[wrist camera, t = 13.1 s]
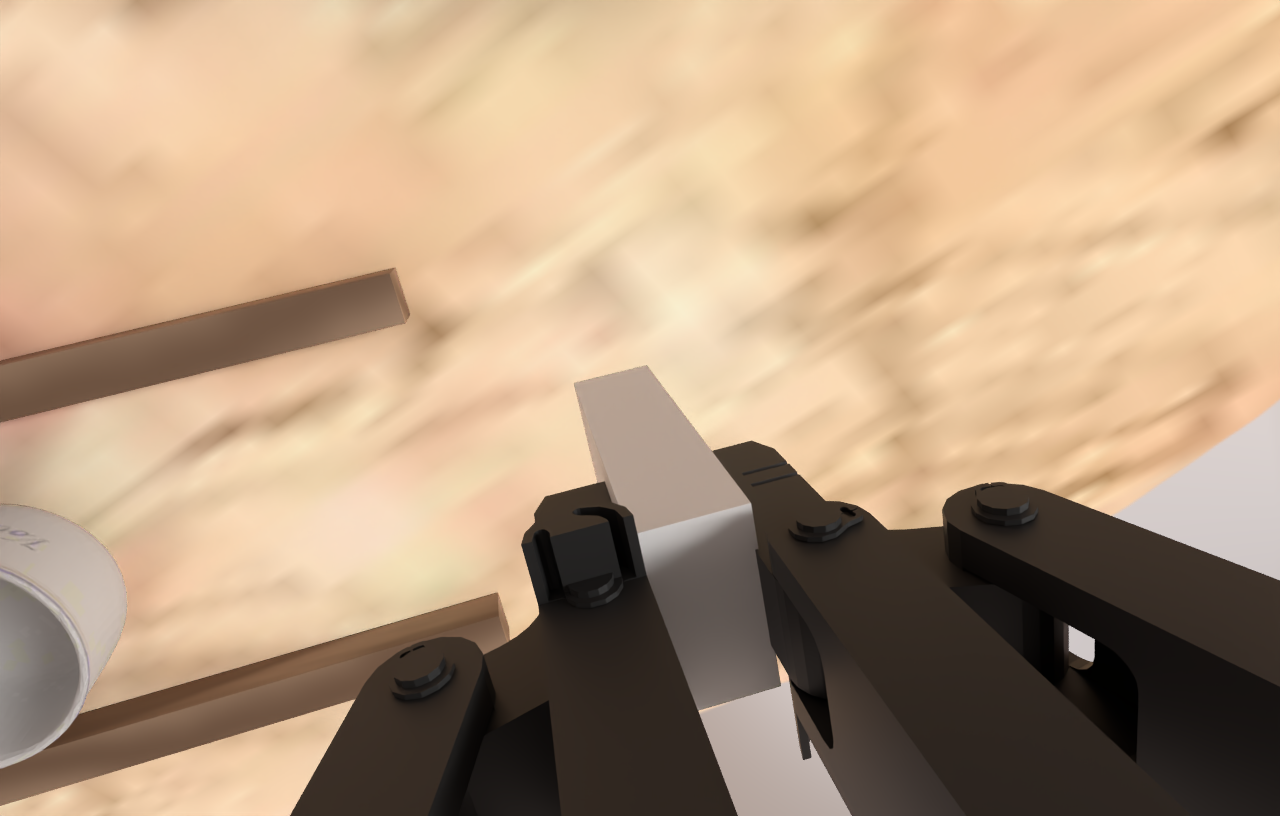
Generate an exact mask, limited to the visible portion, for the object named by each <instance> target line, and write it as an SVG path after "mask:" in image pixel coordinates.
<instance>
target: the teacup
mask: <svg viewBox="0 0 1280 816" xmlns="http://www.w3.org/2000/svg"><path fill="white" fill-rule="evenodd" d="M126 613H127V592H126V587H125V583H124V580H123V576H122V573H121V571H120V569H119V567H118V565H117V563H116V561H115V560H114V558H113V556H112V555H111V554H110V553H109V551H108V550H107V549H106V548H105V546H104V545H103V544H102V543H100V542H99V541H98V540H97V539H96V538H95V537H94V536H93V535H92V534H90V533H89V532H88V531H86V530H85V529H83V528H82V527H80V526H79V525H77V524H75V523H73V522H71V521H70V520H68V519H66V518H64V517H61V516H59V515H56V514H54V513H51V512H48V511H44V510H41V509H37V508H33V507H28V506H21V505H14V504H0V768H4V767H7V766H10V765H12V764H15V763H18V762H20V761H23V760H25V759H27V758H29V757H31V756H33V755H35V754H37V753H38V752H40V751H42V750H43V749H45V748H46V747H48V746H49V745H50V744H51V743H53V742H54V741H55V740H56V739H58V738H59V737H60V736H61V735H62V734H63V733H64V732H65V731H66V730H67V729H68V728H69V727H70V725H71V724H72V723H73V721H74V720H75V719H76V717H77V716H78V714H79V712H80V710H81V708H82V706H83V704H84V701H85V699H86V696H87V694H88V692H89V691H90V689H91V688H92V686H93V685H94V683H95V682H96V680H97V678H98V677H99V675H100V673H101V672H102V670H103V668H104V667H105V665H106V663H107V662H108V660H109V658H110V656H111V654H112V652H113V651H114V649H115V647H116V645H117V643H118V641H119V638H120V636H121V633H122V630H123V627H124V624H125V619H126Z"/></svg>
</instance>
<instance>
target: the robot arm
mask: <svg viewBox="0 0 1280 816" xmlns="http://www.w3.org/2000/svg"><path fill="white" fill-rule="evenodd" d="M574 386H575V390H576V394H577V399H578V403H579V407H580V411H581V416H582V420H583V424H584V428H585V432H586V437H587V441H588V445H589V449H590V453H591V458H592V462H593V466H594V470H595V474H596V479H597V483H596V484H592V485H588V486H584V487H580V488H577V489H573V490H569V491H565V492H561V493H557V494H553V495H550V496H546V497H545V498H544V499H543V501H542V502H541V504H540V505H539V507H538V509H537V510H536V512H535V513H534V517H535V523H534V524H533V525H532V526H531V527H530V528H529V529H528V530H527V531H526V532H525V534H524V537H523V540H522V544H521V546H522V549H523V553H524V556H525V560H526V563H527V567H528V570H529V574H530V577H531V581H532V584H533V588H534V591H535V595H536V598H537V602H538V606H539V615H538V617H537V618H536V619H535V620H534V622H533V623H532V624H531V625H530V626H529V627H528V628H527V629H526V630H524V631H523V632H522V633H521V634H520V635H518V636H517V637H515V638H514V639H512V640H510V641H509V642H507V643H505V644H504V645H502V646H500V647H498V648H496V649H494V650H492V651H490V652H488V653H486V654H484V655H483V653H482V651H481V650H480V648H479V647H478V645H477V644H476V643H475V642H473V641H470V640H468V639H465V638H462V637H439V638H435V639H431V640H427V641H421V642H418V643H416V644H413V645H411V646H410V647H406V648H405V649H403V650H401V651H399V652H398V653H396V654H395V655H393V656H392V657H391V658H389V659H388V660H387V661H385V662H384V663H383V664H381V665H380V666H379V667H377V669H376V670H375V671H374V672H373V674H372V675H371V676H370V677H369V679H368V680H367V681H366V682H365V684H364V685H363V687H362V689H361V691H360V693H359V694H358V696H357V698H356V700H355V701H354V703H353V705H352V707H351V708H350V710H349V712H348V714H347V716H346V717H345V719H344V721H343V723H342V724H341V726H340V728H339V730H338V732H337V733H336V735H335V737H334V739H333V740H332V742H331V744H330V746H329V747H328V749H327V751H326V753H325V755H324V756H323V758H322V760H321V762H320V763H319V765H318V767H317V769H316V771H315V772H314V774H313V776H312V778H311V779H310V781H309V783H308V785H307V786H306V788H305V790H304V792H303V794H302V795H301V797H300V799H299V801H298V802H297V804H296V806H295V808H294V810H293V811H292V813H291V815H290V816H738V815H737V812H736V810H735V807H734V804H733V802H732V799H731V797H730V794H729V791H728V789H727V786H726V783H725V781H724V778H723V776H722V773H721V770H720V767H719V765H718V762H717V760H716V757H715V754H714V752H713V749H712V746H711V744H710V741H709V738H708V736H707V733H706V730H705V728H704V725H703V723H702V720H701V717H700V715H699V712H698V711H699V710H702V709H705V708H709V707H712V706H715V705H719V704H722V703H726V702H729V701H732V700H736V699H739V698H742V697H746V696H749V695H752V694H756V693H759V692H762V691H765V690H769V689H773V688H776V687H779V686H781V683H780V677H779V671H778V665H777V659H776V655H777V656H778V658H779V660H780V661H781V663H782V665H783V667H784V668H785V670H786V672H787V674H788V675H789V682H790V688H791V694H792V700H793V707H794V713H795V719H796V726H797V732H798V738H799V744H800V749H801V753H802V758H803V760H805V759H809V758H811V751H810V745H809V742H810V740H811V742H812V743H813V745H814V747H815V749H816V751H817V753H818V755H819V756H820V758H821V760H822V762H823V764H824V766H825V767H826V769H827V771H828V773H829V775H830V777H831V778H832V780H833V782H834V784H835V786H836V788H837V789H838V791H839V793H840V795H841V797H842V799H843V800H844V802H845V804H846V806H847V808H848V809H849V811H850V813H851V815H852V816H1280V580H1277V579H1274V578H1272V577H1269V576H1266V575H1264V574H1261V573H1259V572H1256V571H1254V570H1251V569H1248V568H1246V567H1243V566H1241V565H1238V564H1235V563H1233V562H1230V561H1227V560H1225V559H1222V558H1220V557H1217V556H1214V555H1212V554H1209V553H1207V552H1204V551H1201V550H1198V549H1196V548H1193V547H1191V546H1188V545H1186V544H1183V543H1180V542H1177V541H1175V540H1172V539H1170V538H1167V537H1165V536H1162V535H1159V534H1157V533H1154V532H1152V531H1149V530H1146V529H1144V528H1141V527H1139V526H1136V525H1133V524H1131V523H1128V522H1125V521H1123V520H1120V519H1118V518H1115V517H1112V516H1110V515H1107V514H1105V513H1102V512H1099V511H1097V510H1094V509H1091V508H1089V507H1086V506H1084V505H1081V504H1078V503H1076V502H1073V501H1071V500H1068V499H1065V498H1063V497H1060V496H1057V495H1055V494H1052V493H1050V492H1047V491H1044V490H1041V489H1037V488H1033V487H1029V486H1025V485H1017V484H1007V483H1004V482H995V483H991V484H988V483H985V484H980V485H976V486H974V487H971V488H967V489H964V490H961V491H958V492H957V493H955V494H954V495H952V496H951V497H950V498H948V499H947V500H946V502H945V505H944V507H943V509H942V513H943V526H942V527H930V528H918V529H907V530H887V529H886V528H885V527H884V526H883V525H882V524H881V523H880V522H879V521H878V520H877V519H875V518H874V517H873V516H872V515H871V514H870V513H869V512H867V511H865V510H864V509H862V508H860V507H858V506H856V505H852V504H848V503H844V502H839V501H825V500H824V499H823V498H822V497H821V496H820V495H819V494H818V493H817V492H816V491H815V490H814V489H813V488H812V487H811V486H810V485H809V484H808V483H807V482H806V481H805V480H804V479H803V478H802V477H801V476H800V475H798V474H797V472H796V471H795V469H794V468H793V467H792V466H791V465H790V464H787V461H786V460H785V459H784V458H783V457H782V456H781V455H780V454H779V453H778V452H777V451H776V450H775V449H774V448H771V447H768V446H765V445H762V444H759V443H757V442H754V441H749V442H745V443H741V444H737V445H733V446H729V447H726V448H722V449H718V450H714V451H711V449H710V448H709V447H708V445H707V444H706V443H705V441H704V440H703V439H702V437H701V436H700V435H699V434H698V432H697V431H696V430H695V428H694V427H693V426H692V424H691V423H690V422H689V420H688V419H687V418H686V416H685V415H684V414H683V412H682V411H681V410H680V408H679V407H678V406H677V404H676V403H675V402H674V400H673V399H672V398H671V396H670V395H669V394H668V393H667V391H666V390H665V389H664V387H663V386H662V385H661V383H660V382H659V381H658V379H657V378H656V377H655V375H654V374H653V373H652V371H651V370H650V369H649V367H648V366H647V365H646V366H642V367H637V368H633V369H629V370H625V371H621V372H617V373H613V374H609V375H605V376H601V377H596V378H592V379H588V380H584V381H580V382H576V383H574ZM1068 625H1070V626H1071V627H1073V628H1075V629H1077V630H1079V631H1081V632H1083V633H1084V634H1086V635H1088V636H1090V637H1092V638H1094V639H1095V658H1094V661H1093V662H1090V661H1087V660H1085V659H1082V658H1080V657H1078V656H1076V655H1074V654H1073V653H1071V652H1070V651H1069V649H1068V648H1069V635H1068V634H1069V632H1068V631H1069V628H1068Z"/></svg>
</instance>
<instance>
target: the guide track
mask: <svg viewBox="0 0 1280 816" xmlns="http://www.w3.org/2000/svg"><path fill="white" fill-rule="evenodd" d="M409 315H410V313H409V309H408V306H407V303H406V300H405V297H404V294H403V290H402V287H401V284H400V281H399V278H398V275H397V271H396V268H392V269H388V270H383V271H379V272H375V273H371V274H367V275H362V276H358V277H354V278H350V279H345V280H341V281H337V282H333V283H328V284H324V285H320V286H316V287H311V288H307V289H303V290H299V291H294V292H290V293H286V294H282V295H277V296H273V297H269V298H265V299H261V300H256V301H252V302H248V303H244V304H239V305H235V306H231V307H227V308H222V309H218V310H214V311H210V312H205V313H201V314H197V315H193V316H188V317H184V318H180V319H176V320H171V321H167V322H163V323H159V324H154V325H150V326H146V327H142V328H138V329H133V330H129V331H125V332H121V333H116V334H112V335H108V336H104V337H99V338H95V339H91V340H87V341H82V342H78V343H74V344H70V345H65V346H61V347H57V348H53V349H48V350H44V351H40V352H36V353H31V354H27V355H23V356H19V357H15V358H10V359H6V360H2V361H0V422H4V421H8V420H12V419H16V418H20V417H24V416H28V415H32V414H37V413H41V412H45V411H49V410H53V409H57V408H61V407H65V406H69V405H73V404H77V403H81V402H86V401H90V400H94V399H98V398H102V397H106V396H110V395H114V394H118V393H122V392H126V391H130V390H135V389H139V388H143V387H147V386H151V385H155V384H159V383H163V382H167V381H171V380H175V379H179V378H184V377H188V376H192V375H196V374H200V373H204V372H208V371H212V370H216V369H220V368H224V367H228V366H233V365H237V364H241V363H245V362H249V361H253V360H257V359H261V358H265V357H269V356H273V355H278V354H282V353H286V352H290V351H294V350H298V349H302V348H306V347H310V346H314V345H318V344H322V343H327V342H331V341H335V340H339V339H343V338H347V337H351V336H355V335H359V334H363V333H367V332H371V331H376V330H380V329H384V328H388V327H392V326H396V325H400V324H404V323H406V321H407V319H408V317H409ZM439 637H462V638H465V639H468V640H470V641H473V642H475V643H476V644H477V645H478V647H479V648H480V650H481V651H482V653H483V655H484V654H486V653H488V652H490V651H492V650H494V649H496V648H498V647H500V646H502V645H504V644H505V643H507V642H509V641H510V638H509V626H508V623H507V620H506V617H505V613H504V610H503V607H502V604H501V601H500V598H499V594H498V593H495V594H491V595H488V596H484V597H481V598H478V599H474V600H471V601H467V602H464V603H460V604H457V605H454V606H450V607H447V608H443V609H440V610H436V611H433V612H430V613H426V614H423V615H419V616H416V617H412V618H409V619H405V620H402V621H399V622H395V623H392V624H388V625H385V626H381V627H378V628H375V629H371V630H368V631H364V632H361V633H357V634H354V635H350V636H347V637H344V638H340V639H337V640H333V641H330V642H326V643H323V644H320V645H316V646H313V647H309V648H306V649H302V650H299V651H296V652H292V653H289V654H285V655H282V656H278V657H275V658H271V659H268V660H265V661H261V662H258V663H254V664H251V665H247V666H244V667H241V668H237V669H234V670H230V671H227V672H223V673H220V674H217V675H213V676H210V677H206V678H203V679H199V680H196V681H192V682H189V683H186V684H182V685H179V686H175V687H172V688H168V689H165V690H162V691H158V692H155V693H151V694H148V695H144V696H141V697H137V698H134V699H131V700H127V701H124V702H120V703H117V704H113V705H110V706H107V707H103V708H100V709H96V710H93V711H89V712H86V713H83V714H79V715H78V716H77V717H76V719H75V720H74V721H73V723H72V724H71V725H70V727H69V728H68V729H67V730H66V731H65V732H64V733H63V734H62V735H61V736H60V737H59V738H58V739H56V740H55V741H54V742H53V743H51V744H50V745H49V746H48V747H46V748H45V749H43V750H42V751H40V752H38V753H37V754H35V755H33V756H31V757H29V758H27V759H25V760H23V761H20V762H18V763H15V764H12V765H10V766H7V767H4V768H0V806H1V805H5V804H8V803H11V802H15V801H18V800H21V799H25V798H28V797H31V796H35V795H38V794H41V793H44V792H48V791H51V790H54V789H58V788H61V787H64V786H68V785H71V784H74V783H78V782H81V781H84V780H88V779H91V778H94V777H98V776H101V775H104V774H108V773H111V772H114V771H118V770H121V769H124V768H128V767H131V766H134V765H137V764H141V763H144V762H147V761H151V760H154V759H157V758H161V757H164V756H167V755H171V754H174V753H177V752H181V751H184V750H187V749H191V748H194V747H197V746H201V745H204V744H207V743H211V742H214V741H217V740H220V739H224V738H227V737H230V736H234V735H237V734H240V733H244V732H247V731H250V730H254V729H257V728H260V727H264V726H267V725H270V724H274V723H277V722H280V721H284V720H287V719H290V718H294V717H297V716H300V715H304V714H307V713H310V712H313V711H317V710H320V709H323V708H327V707H330V706H333V705H337V704H340V703H343V702H347V701H350V700H353V699H356V698H357V696H358V694H359V693H360V691H361V689H362V687H363V685H364V684H365V682H366V681H367V680H368V679H369V677H370V676H371V675H372V674H373V672H374V671H375V670H376V669H377V667H379V666H380V665H381V664H383V663H384V662H385V661H387V660H388V659H389V658H391V657H392V656H393V655H395V654H396V653H398V652H399V651H401V650H403V649H405V648H406V647H410V646H411V645H413V644H416V643H418V642H421V641H427V640H431V639H435V638H439Z"/></svg>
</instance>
